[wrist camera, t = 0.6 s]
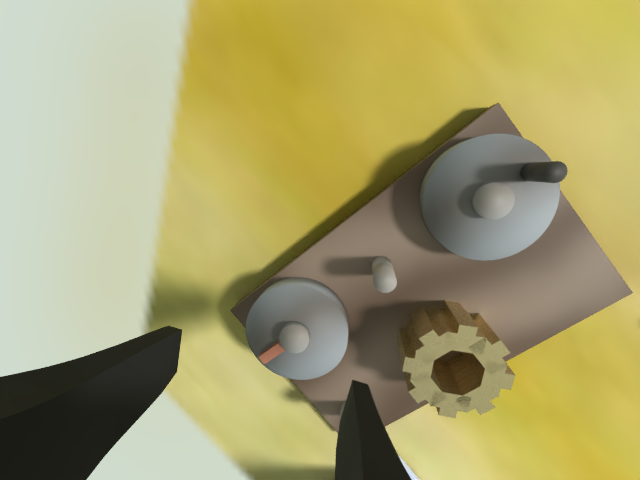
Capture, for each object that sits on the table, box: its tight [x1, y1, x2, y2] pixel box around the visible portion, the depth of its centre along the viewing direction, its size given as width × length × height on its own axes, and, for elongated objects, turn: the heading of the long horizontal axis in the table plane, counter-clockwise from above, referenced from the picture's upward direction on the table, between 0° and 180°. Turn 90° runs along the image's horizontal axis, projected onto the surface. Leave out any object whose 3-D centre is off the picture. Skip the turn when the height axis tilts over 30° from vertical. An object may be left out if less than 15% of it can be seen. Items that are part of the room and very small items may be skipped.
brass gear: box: [397, 300, 515, 418], centre depth 18 cm, size 6×6×3 cm
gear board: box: [231, 103, 633, 433], centre depth 18 cm, size 13×20×5 cm, turn 129°
